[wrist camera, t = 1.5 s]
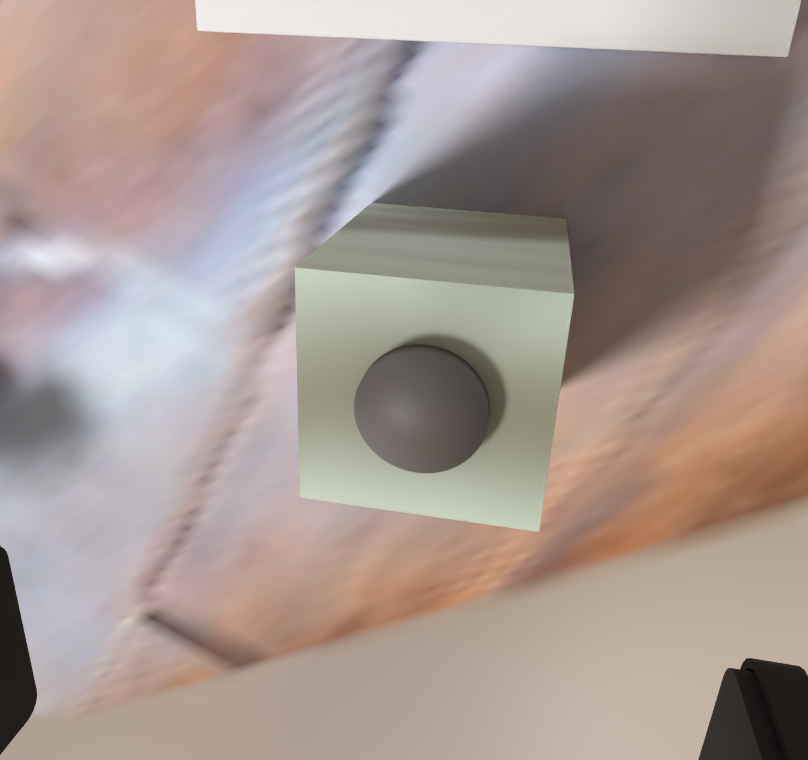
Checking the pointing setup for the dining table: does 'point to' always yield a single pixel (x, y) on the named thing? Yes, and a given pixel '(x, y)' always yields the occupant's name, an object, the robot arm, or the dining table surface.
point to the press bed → (525, 22)
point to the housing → (433, 362)
